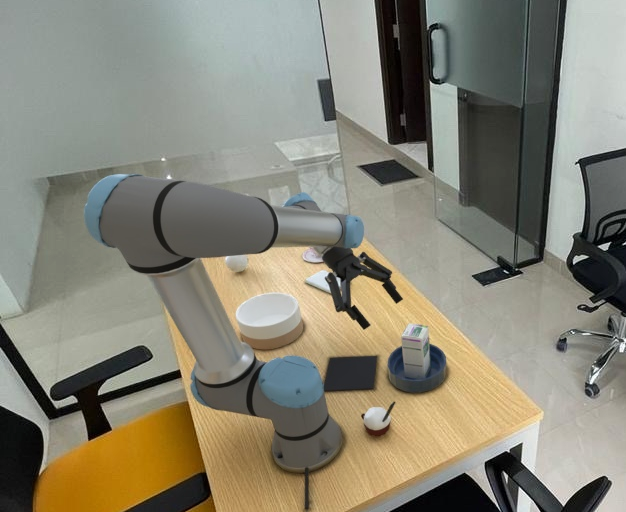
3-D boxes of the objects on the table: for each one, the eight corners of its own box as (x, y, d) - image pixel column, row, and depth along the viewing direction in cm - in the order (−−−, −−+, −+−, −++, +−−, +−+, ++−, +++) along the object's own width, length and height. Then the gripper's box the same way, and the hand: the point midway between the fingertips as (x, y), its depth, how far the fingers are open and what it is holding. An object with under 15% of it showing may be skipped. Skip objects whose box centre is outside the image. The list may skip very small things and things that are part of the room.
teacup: (342, 255, 186) (339, 240, 183) (313, 266, 179) (310, 251, 175) (324, 244, 193) (322, 230, 189) (296, 254, 186) (293, 240, 182)
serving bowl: (447, 392, 130) (447, 379, 127) (387, 394, 128) (385, 382, 126) (445, 353, 143) (445, 341, 140) (390, 355, 141) (389, 343, 138)
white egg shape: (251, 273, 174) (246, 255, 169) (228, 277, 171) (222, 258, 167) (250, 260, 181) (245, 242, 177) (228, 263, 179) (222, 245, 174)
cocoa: (358, 426, 120) (352, 390, 113) (380, 413, 123) (376, 378, 116) (378, 451, 114) (373, 415, 107) (401, 437, 117) (398, 402, 110)
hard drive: (323, 273, 176) (349, 284, 171) (305, 283, 170) (331, 294, 165) (323, 269, 175) (348, 280, 170) (304, 279, 169) (331, 290, 164)
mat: (373, 389, 130) (373, 388, 130) (322, 391, 129) (322, 390, 129) (377, 356, 140) (376, 355, 140) (330, 358, 139) (329, 357, 139)
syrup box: (425, 381, 133) (423, 338, 124) (404, 377, 134) (400, 335, 125) (431, 367, 137) (429, 325, 129) (410, 363, 138) (407, 322, 130)
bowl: (263, 310, 156) (256, 288, 152) (313, 318, 154) (309, 296, 149) (230, 344, 143) (222, 321, 138) (285, 354, 140) (278, 330, 135)
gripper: (302, 263, 115) (359, 334, 119) (371, 223, 133) (419, 286, 136) (289, 276, 121) (345, 344, 124) (357, 236, 138) (404, 296, 142)
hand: (384, 314), depth 130 cm, fingers open, 13 cm apart
